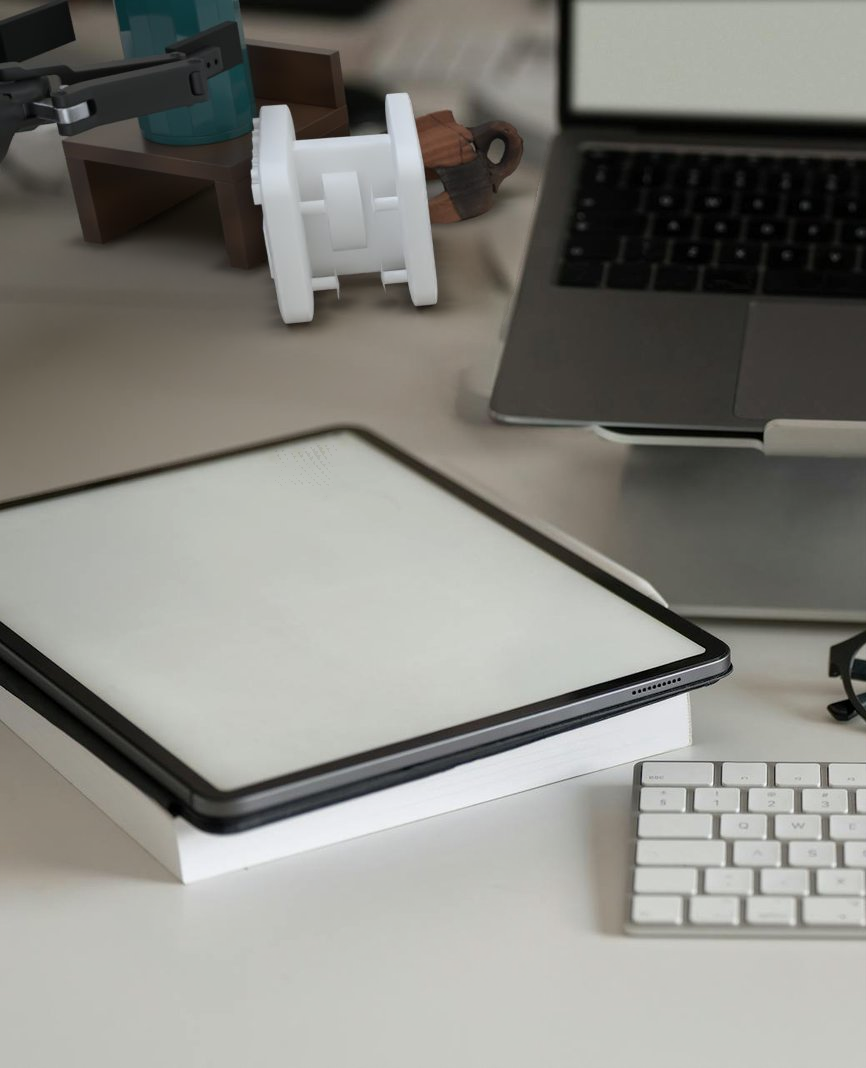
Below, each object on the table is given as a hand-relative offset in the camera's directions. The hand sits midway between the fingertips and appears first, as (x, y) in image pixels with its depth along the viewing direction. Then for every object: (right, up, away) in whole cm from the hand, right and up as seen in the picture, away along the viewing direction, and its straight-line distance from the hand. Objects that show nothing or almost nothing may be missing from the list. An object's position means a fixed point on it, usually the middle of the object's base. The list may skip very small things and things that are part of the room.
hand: (150, 30), depth 114 cm
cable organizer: (+13, -17, +2) cm, 22 cm away
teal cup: (+1, -5, +6) cm, 8 cm away
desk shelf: (+1, -11, +11) cm, 16 cm away
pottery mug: (+17, -9, +16) cm, 25 cm away
